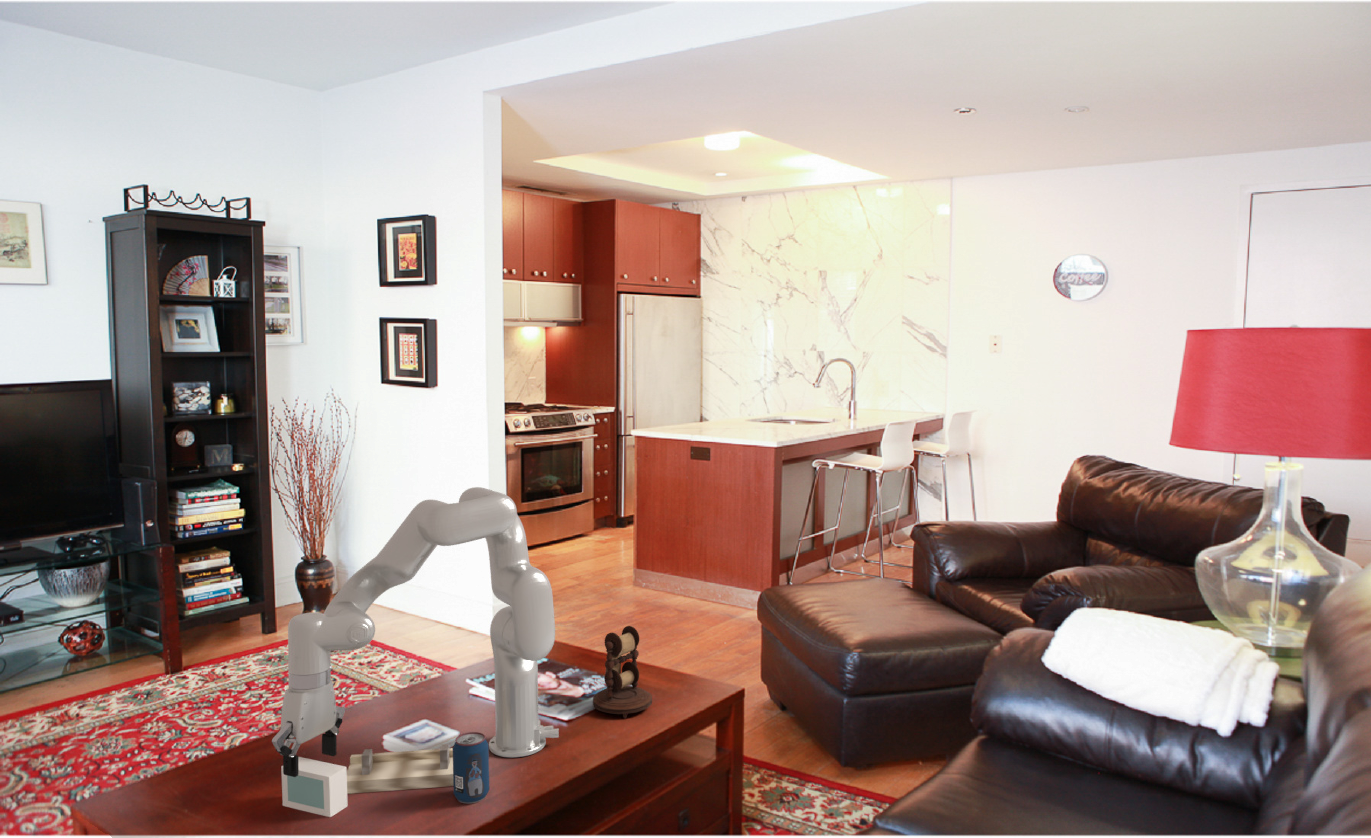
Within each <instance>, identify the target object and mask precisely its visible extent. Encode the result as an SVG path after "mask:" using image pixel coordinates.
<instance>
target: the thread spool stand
mask: <svg viewBox="0 0 1371 838" xmlns="http://www.w3.org/2000/svg"><path fill="white" fill-rule="evenodd" d="M639 644H640V634H639V632H638V630H637V629H636V628H635V627H634V626H632V625H627V626H625V627H624V628H623V629H622V631H621V635H618V634H617V633H615V632H608V633H607V634H606V635H605V638H604V647H605V649H606V650H605V652H606V658H605V659H606V661H605V662H604V666H605V667H604V668H605V672H604V683H605V686H606V688H605V689H602V690H600V691H598V692H597V693H596V694H595V695H594V696H593V697H592V706H593V709H594V710H595V711H596V710H598V711H599V712H602V713H605V714H606V713H607V714H612V715H613V714H614V715H622V717H623V719H624V720H625V719H627V717H628V714H634V713H638V712H642V711H644V710H646V709H648V708H649V707H650V706H651V705H652V703H653V696H652V694H651V693H650V692H649V691H647V690H645V689H644V688H641V687H638V685H639V683H638V682H639V679H640V670H639V669H638V662H637V660H638V657H639V655H640V653H639V650H637V649H638V646H639ZM627 660H632V661H627ZM622 664H623V665H622Z"/></svg>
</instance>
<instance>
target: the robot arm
mask: <svg viewBox="0 0 1371 838" xmlns="http://www.w3.org/2000/svg"><path fill="white" fill-rule="evenodd" d="M458 499H459V500H458V502H456V503H454V502H453V503H448V502H444V501H441V500H437V499H426V500H425V499H424V500H422V501H420V502H419V503H417V504H416V505H415V506H414V507H413V508H412V510H411V511H410V512H409V514H407V516H406V517H405V519H404V521H402V523H400V524H399V526H398V528H397V529H396V530H395V532H394V533H393V534H392V536H391V537H390V538H389V540H388V541H387V542H386V544H384V546H383V548H382V549H381V550H380V551H379V552H378V554H377V555H375V557H374V558H372V559H371V560H370V561H368V562H367V563H365V565H363V566H362V567H361V568H360V569H359V570H358V571H356V572H355V573H354V574H353V575H351V576H350V577H349V578H348V579H347V580H346V581H345V583H344V584H343V585H342V586H341V588H340V589H339V590H338V591H337V593H336V594H335V596H333V598H332V599H331V601H330V602H329V604H327V605H326V609H325V610H324V613H323V612H306V613H305V612H303V613H300V614H297V615H295V616H293V617H291V619H290V620H289V622H288V625H287V643H288V645H287V647H288V649H287V651H288V653H287V654H288V659H287V660H288V663H287V664H288V665H287V666H288V667H287V669H288V671H287V672H288V688H287V689H285V691H284V696H283V699H282V706H281V715H280V717H281V718H280V730H279V731H278V732H277V733H276V735H274V737H272V740H271V743H272V744H273V746H274V748H275V752H277V753H278V754H280V756H282V766H283V773H284V775H288V776H292V777H296V776H298V774H299V769H298V757H299V755H297V752H298V750H299V749H300V746H301V745H302V744H304V743H306V742H308V741H310V740H313V739H315V738H316V737H318V736H320V735H321V753H322V755H326V756H330V757H335V756H337V753H338V749H337V745H338V744H337V736H338V735H339V733H340V727H341V725H342V723H343V719H344V715H345V713H346V712H345V711H346V707H344V706H338V705H337V703H336V702H337V701H336V694H335V688H334V684H333V683H334V682H333V680H332V679H331V676H332V675H331V672H332V671H333V666H332V664H331V663H332V662H331V660H332V659H331V656H332V655H331V654H332V653H331V652H332V651H333V652H334V651H356V650H360V649H362V648H364V647H366V646H367V645H369V644H370V643H371V642H372V640H373V638H374V637H375V633H376V625H375V622H374V620H373V619H372V618H371V617H370V616H369V614H367V613H366V612H367V611H368V610H369V608H370V607H371V605H373V604H374V602H375V601H376V600H377V599H378V598H380V596H381V595H382V594H383V593H385V592H386V591H388V590H390V589H392V588H394V587H397V586H400V585H403V584H405V583H407V582H409V581H411V580H412V579H414V577H415V576H416V575H417V573H418V572H419V571H420V570H421V567H422V566H423V565H424V563H425V562H426V561H427V559H428V558H429V557H430V556H431V555H432V553H433V552H434V550H436V548H437V546H440V547H451V546H456V545H461V544H466V543H470V542H474V541H476V540H482V539H485V541H486V545H487V550H488V557H489V559H488V560H489V569H490V570H489V571H490V582H491V583H490V584H491V590H492V594H493V595H494V597H496V598H497V599H498V600H499V601H501V602H503V603H504V604H506V605H508V606H505V607H502V608H501V609H499V610H498V611H497V612H496V613H495V614H494V615H493V618H492V620H491V624H490V629H489V636H490V643H491V649H492V655H493V665H494V667H493V668H494V702H495V703H494V709H495V712H494V713H495V735H494V736H493V737H491V738H490V740H489V742H488V750H489V752H491V753H492V754H493V755H496V756H498V757H503V758H520V757H521V758H522V757H527V756H530V755H533V754H536V753H538V752H540V751H541V750H543V748H544V747H545V746H546V744H547V741H546V740H547V739H549V738H551V739H554V738H556V739H557V738H559V737H560V736H559V735H560V734H559V733H560V732H559V730H560V729H559V727H558V728H554V725H547V726H546V725H545V726H544V725H543V724H542V725H541V719H539V679H538V678H539V674H538V673H539V669H538V666H539V665H538V661H541V660H543V659H544V658H545V657H547V656H548V655H549V654H550V653H551V651H552V649H553V646H554V644H555V640H556V622H555V609H554V597H553V589H552V585H551V581H550V580H549V578H548V576H547V575H546V573H544V571H542V570H541V569H539V568H538V567H535V566H533V565H532V564H531V563H530V556H529V549H528V542H527V536H526V535H527V534H526V530H525V528H524V524H523V522H522V520H521V518H520V516H519V515H518V509H517V505H516V503H515V501H514V500H513V499H512V498H511V497H510V496H508V495H507V494H505V493H503V492H499V491H495V490H491V489H488V488H485V487H480V486H478V487H477V486H475V487H470V488H467V489H465V490H464V491H463V492H462V493H461V494H460V496H459V498H458ZM546 738H547V739H546ZM292 743H293V744H292ZM291 745H292V747H291ZM290 747H291V748H290Z"/></svg>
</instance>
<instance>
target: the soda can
mask: <svg viewBox="0 0 1371 838" xmlns="http://www.w3.org/2000/svg"><path fill="white" fill-rule="evenodd" d="M452 748H453V786H452V787H453V796H455V798H456V799H457V801H458V802H459V803H462V804H465V805H466V804H467V805H468V804H475V803H479V802H481V801H483V800H484V799H485V798H486V797H487V795H488V793H489V791H490V763H489V762H490V761H489V760H490V755H489V753H490V750H489V742H488V741H487V739H486V735H485V734H484V733H482V732H476V731H471V732H465V733H464V732H463V733H462V734H460V735H457V737H456V738H455V742H454V744H453V746H452Z"/></svg>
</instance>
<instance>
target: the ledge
mask: <svg viewBox="0 0 1371 838" xmlns="http://www.w3.org/2000/svg"><path fill="white" fill-rule="evenodd" d="M346 770H347V795H348V794H362V793H375V792H390V791H403V790H404V791H405V790H415V789H417V790H418V789H429V788H430V789H431V788H442V787H446V788H447V787H453V747H451V748H450V743H444V744H443V743H442V744H441V746H440V748H435V749H434V748H433V749H420V750H419V749H418V750H405V751H388V752H377V753H376V752H375V753H373V748H370V749H369V748H367V749H364V750H363V752H362V753H360V754H359V753H358V754H351V755H350V757H349V766H348V768H347V769H346Z"/></svg>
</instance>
